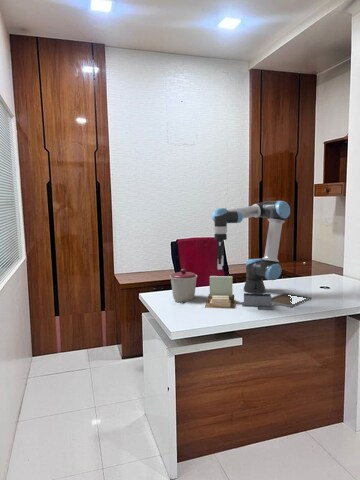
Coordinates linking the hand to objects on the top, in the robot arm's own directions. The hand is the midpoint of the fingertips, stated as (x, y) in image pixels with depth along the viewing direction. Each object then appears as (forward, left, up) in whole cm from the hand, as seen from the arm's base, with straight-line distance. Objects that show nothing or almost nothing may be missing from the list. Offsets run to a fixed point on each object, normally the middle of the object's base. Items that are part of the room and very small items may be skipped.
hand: (220, 267), depth 220 cm
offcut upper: (+6, +5, -19) cm, 21 cm away
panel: (0, 0, -22) cm, 22 cm away
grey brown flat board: (-34, +26, -24) cm, 49 cm away
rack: (+3, +2, -23) cm, 24 cm away
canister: (+9, -24, -24) cm, 35 cm away
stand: (-10, +20, -23) cm, 32 cm away
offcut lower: (+6, +5, -22) cm, 23 cm away
